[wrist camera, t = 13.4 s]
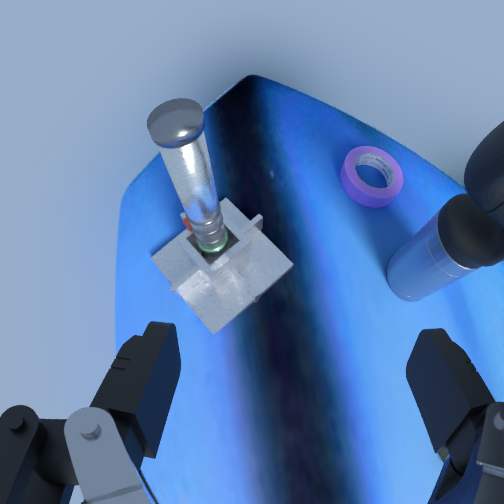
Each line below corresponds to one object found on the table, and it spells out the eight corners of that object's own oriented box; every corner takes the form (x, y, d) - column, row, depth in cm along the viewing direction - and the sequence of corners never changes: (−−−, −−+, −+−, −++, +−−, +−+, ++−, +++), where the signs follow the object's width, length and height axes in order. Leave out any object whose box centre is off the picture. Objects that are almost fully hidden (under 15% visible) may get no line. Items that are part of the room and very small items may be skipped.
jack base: (227, 198, 53) (220, 159, 43) (297, 267, 49) (307, 240, 38) (149, 260, 49) (124, 233, 39) (214, 340, 45) (202, 332, 34)
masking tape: (394, 165, 56) (401, 154, 53) (397, 214, 52) (405, 204, 49) (341, 152, 57) (345, 139, 54) (337, 201, 53) (342, 189, 50)
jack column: (216, 224, 42) (182, 91, 20) (235, 244, 41) (214, 115, 19) (193, 242, 41) (137, 119, 20) (212, 264, 40) (165, 146, 18)
